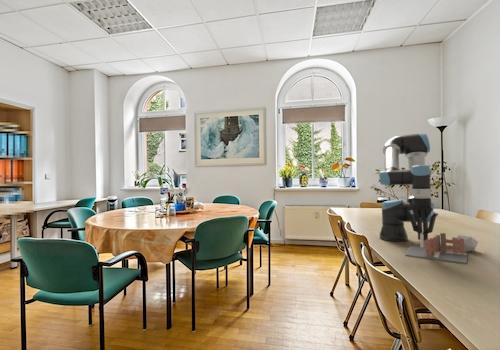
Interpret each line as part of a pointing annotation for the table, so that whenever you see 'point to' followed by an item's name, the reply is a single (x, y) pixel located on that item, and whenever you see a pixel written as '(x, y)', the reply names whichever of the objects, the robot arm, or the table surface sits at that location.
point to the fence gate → (433, 245)
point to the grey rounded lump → (468, 242)
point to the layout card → (437, 255)
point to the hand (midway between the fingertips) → (423, 246)
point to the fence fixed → (453, 241)
